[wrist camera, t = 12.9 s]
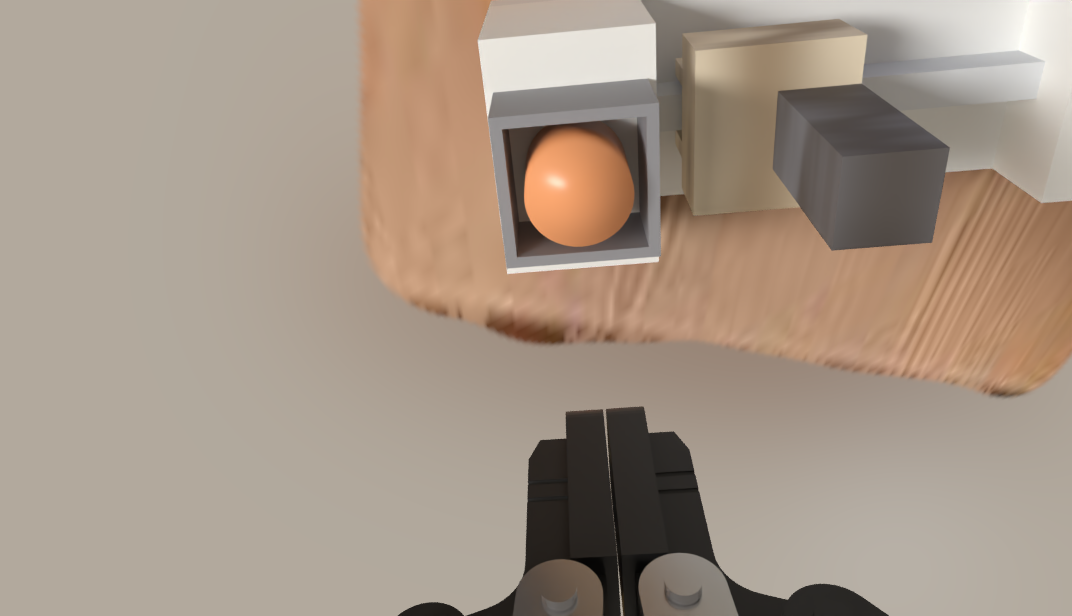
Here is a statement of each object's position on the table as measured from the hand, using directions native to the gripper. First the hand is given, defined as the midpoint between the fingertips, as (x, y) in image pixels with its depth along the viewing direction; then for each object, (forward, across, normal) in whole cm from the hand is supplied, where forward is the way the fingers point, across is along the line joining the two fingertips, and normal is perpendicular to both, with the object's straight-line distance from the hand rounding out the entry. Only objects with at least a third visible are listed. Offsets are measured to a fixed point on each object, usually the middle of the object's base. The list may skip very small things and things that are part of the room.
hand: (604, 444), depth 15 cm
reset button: (+15, 0, 0) cm, 15 cm away
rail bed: (+24, -9, 0) cm, 25 cm away
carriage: (+22, -7, 0) cm, 23 cm away
